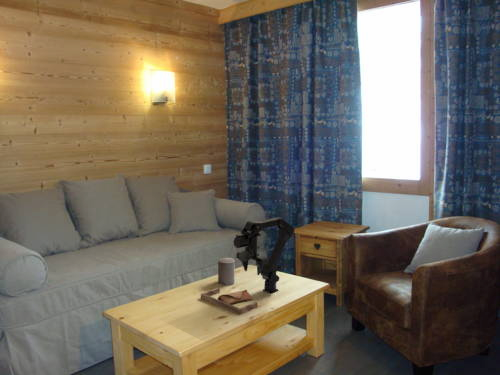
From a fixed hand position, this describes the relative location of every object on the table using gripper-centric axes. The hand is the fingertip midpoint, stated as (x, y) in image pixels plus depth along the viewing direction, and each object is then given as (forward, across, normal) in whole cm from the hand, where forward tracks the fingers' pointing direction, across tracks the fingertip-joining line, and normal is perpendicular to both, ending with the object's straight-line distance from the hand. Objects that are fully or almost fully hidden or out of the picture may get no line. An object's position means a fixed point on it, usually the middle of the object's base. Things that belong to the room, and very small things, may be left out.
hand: (252, 273), depth 245 cm
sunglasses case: (+14, -2, -10) cm, 17 cm away
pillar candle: (+13, -25, +5) cm, 29 cm away
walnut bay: (+13, -3, -14) cm, 20 cm away
